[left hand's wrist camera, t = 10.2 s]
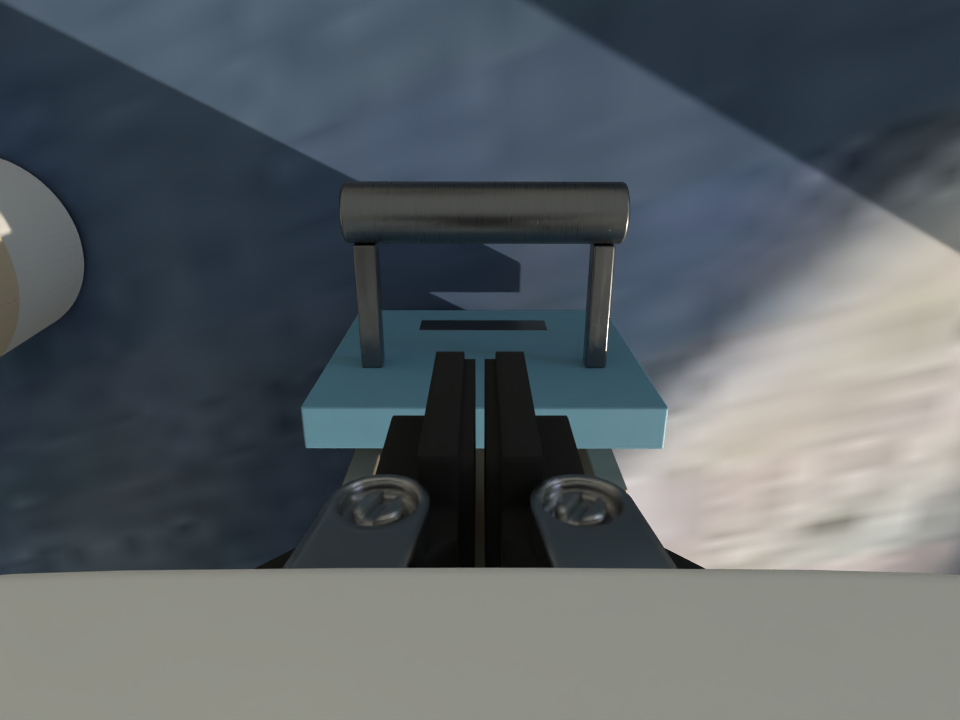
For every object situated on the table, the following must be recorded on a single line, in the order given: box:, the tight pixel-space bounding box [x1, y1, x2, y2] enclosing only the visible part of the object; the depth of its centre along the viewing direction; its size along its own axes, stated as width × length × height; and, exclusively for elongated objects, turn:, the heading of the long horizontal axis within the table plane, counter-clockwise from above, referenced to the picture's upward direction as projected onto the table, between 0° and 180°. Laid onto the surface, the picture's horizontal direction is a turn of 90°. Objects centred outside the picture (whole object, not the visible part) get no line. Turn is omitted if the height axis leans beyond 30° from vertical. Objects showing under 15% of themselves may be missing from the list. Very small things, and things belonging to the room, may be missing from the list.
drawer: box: [301, 181, 668, 568], centre depth 21 cm, size 19×9×8 cm, turn 0°
